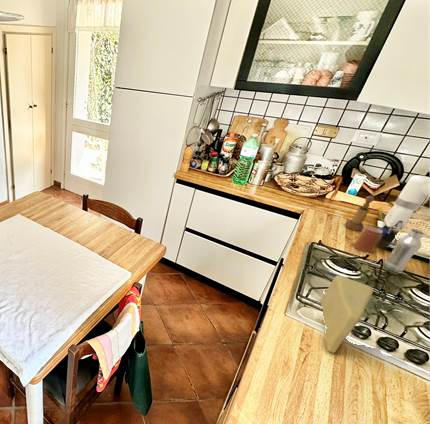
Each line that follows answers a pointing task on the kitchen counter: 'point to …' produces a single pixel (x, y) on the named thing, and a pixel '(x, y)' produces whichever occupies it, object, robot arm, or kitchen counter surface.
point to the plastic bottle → (403, 251)
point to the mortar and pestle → (360, 215)
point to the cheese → (343, 309)
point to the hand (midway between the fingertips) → (385, 237)
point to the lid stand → (383, 243)
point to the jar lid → (384, 230)
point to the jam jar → (368, 239)
